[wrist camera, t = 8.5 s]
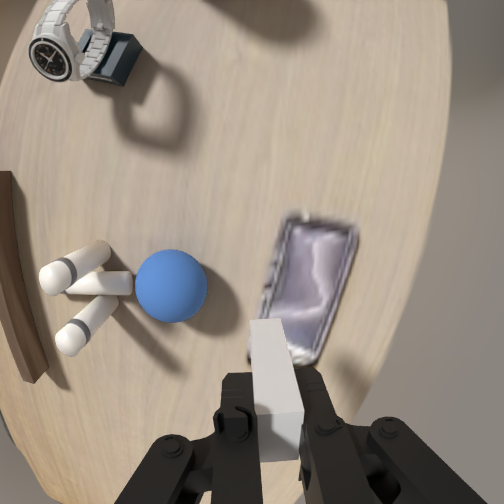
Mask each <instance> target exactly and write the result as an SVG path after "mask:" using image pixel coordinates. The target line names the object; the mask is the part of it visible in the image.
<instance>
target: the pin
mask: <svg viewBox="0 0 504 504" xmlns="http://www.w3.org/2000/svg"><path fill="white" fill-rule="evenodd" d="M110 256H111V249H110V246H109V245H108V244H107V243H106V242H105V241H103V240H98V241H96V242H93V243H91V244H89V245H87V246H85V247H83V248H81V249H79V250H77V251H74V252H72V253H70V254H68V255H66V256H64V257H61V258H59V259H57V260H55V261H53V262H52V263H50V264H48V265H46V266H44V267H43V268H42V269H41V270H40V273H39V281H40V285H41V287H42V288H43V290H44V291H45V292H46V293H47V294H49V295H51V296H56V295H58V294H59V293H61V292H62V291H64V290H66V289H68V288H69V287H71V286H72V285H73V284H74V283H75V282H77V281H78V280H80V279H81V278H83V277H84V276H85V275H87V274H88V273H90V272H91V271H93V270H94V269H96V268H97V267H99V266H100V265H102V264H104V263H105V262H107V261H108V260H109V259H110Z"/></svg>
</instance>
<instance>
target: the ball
mask: <svg viewBox="0 0 504 504" xmlns="http://www.w3.org/2000/svg"><path fill="white" fill-rule="evenodd" d="M135 291H136V296H137V299H138V301H139V303H140V305H141V306H142V308H143V309H144V310H145V311H146V313H148V314H149V315H150V316H151V317H153V318H155V319H157V320H159V321H162V322H166V323H177V322H181V321H185V320H187V319H189V318H190V317H192V316H193V315H195V314H196V313H197V312H198V311H199V310H200V308H201V307H202V305H203V303H204V301H205V299H206V295H207V279H206V275H205V273H204V270H203V269H202V267H201V265H200V264H199V263H198V261H197V260H196V259H195V258H193V257H192V256H191V255H189V254H187V253H185V252H182V251H178V250H163V251H159V252H157V253H155V254H153V255H151V256H150V257H149V258H147V259H146V260H145V261H144V262H143V264H142V265H141V267H140V268H139V270H138V273H137V276H136V281H135Z"/></svg>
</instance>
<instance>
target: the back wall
mask: <svg viewBox="0 0 504 504" xmlns="http://www.w3.org/2000/svg"><path fill="white" fill-rule="evenodd" d="M0 320H1V323H2V326H3V329H4V332H5V335H6V338H7V341H8V344H9V347H10V349H11V352H12V355H13V357H14V360H15V362H16V365H17V367H18V370H19V372H20V374H21V377H22V379H23V381H26V382H29V383H33V384H35V382H36V381H37V380H38V379H39V378H40V377H41V375H42V374H43V373H44V372H45V371H46V370H47V369H48V367H49V365H48V363H47V360H46V357H45V354H44V351H43V349H42V346H41V343H40V340H39V337H38V333H37V330H36V327H35V324H34V320H33V317H32V313H31V309H30V306H29V302H28V298H27V294H26V289H25V285H24V281H23V276H22V271H21V266H20V260H19V254H18V248H17V241H16V234H15V226H14V217H13V206H12V190H11V171H0Z"/></svg>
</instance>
